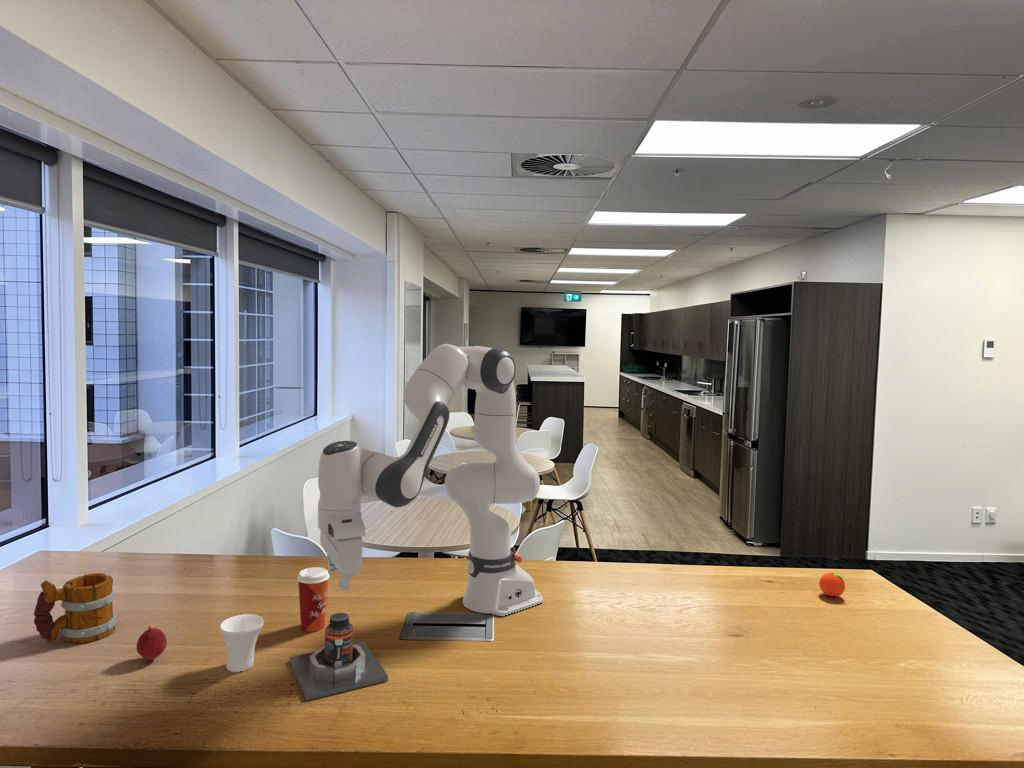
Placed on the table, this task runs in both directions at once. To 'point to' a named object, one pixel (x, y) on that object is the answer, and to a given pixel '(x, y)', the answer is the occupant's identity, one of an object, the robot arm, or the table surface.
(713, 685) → the table surface
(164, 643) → the onion
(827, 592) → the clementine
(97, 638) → the mug
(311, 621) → the paper cup
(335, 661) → the supplement bottle
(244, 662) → the cup
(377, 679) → the ring collar
